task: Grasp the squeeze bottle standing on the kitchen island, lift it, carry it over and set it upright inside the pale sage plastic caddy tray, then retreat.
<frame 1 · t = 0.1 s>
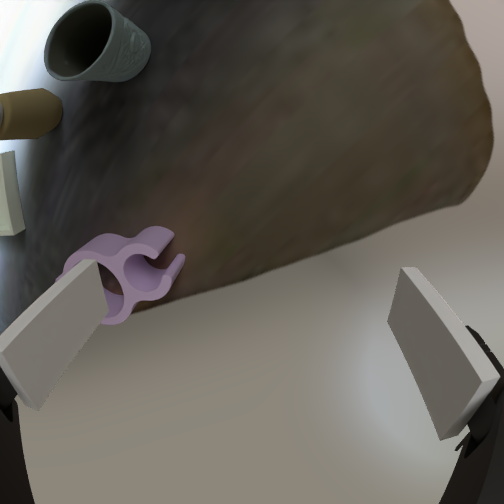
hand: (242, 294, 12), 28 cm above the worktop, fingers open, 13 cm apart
clip: (127, 263, 44), on the worktop
squeeze bottle: (51, 112, 34), on the worktop
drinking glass: (123, 56, 31), on the worktop
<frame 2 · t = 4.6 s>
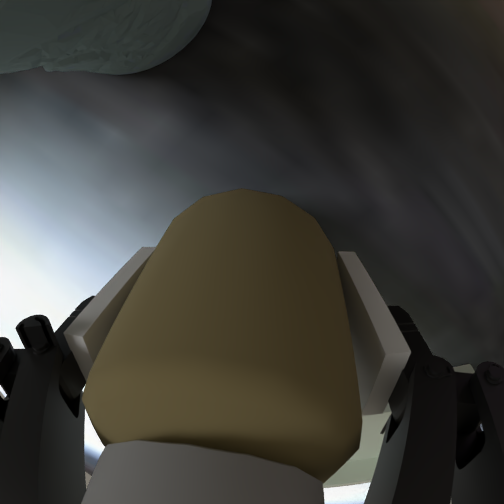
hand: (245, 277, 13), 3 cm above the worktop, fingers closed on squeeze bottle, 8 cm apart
squeeze bottle: (250, 247, 16), on the worktop, touching gripper
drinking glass: (142, 13, 11), on the worktop
caddy tray: (376, 426, 23), on the worktop
when the fingers open (6 cm above the worktop, at t = 12.3 s): squeeze bottle drops 2 cm, resting on caddy tray.
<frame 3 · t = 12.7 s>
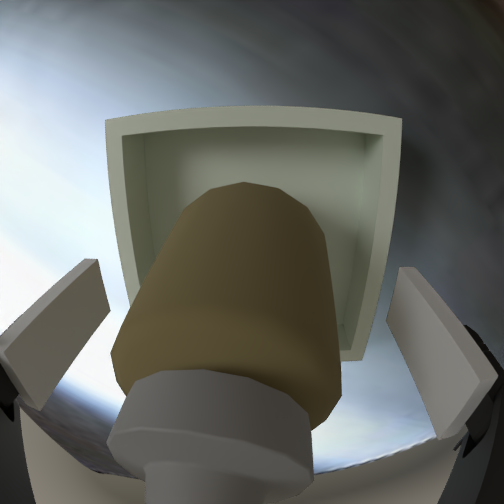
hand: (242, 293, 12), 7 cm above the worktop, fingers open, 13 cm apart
squeeze bottle: (251, 235, 18), resting on caddy tray
caddy tray: (253, 233, 19), on the worktop
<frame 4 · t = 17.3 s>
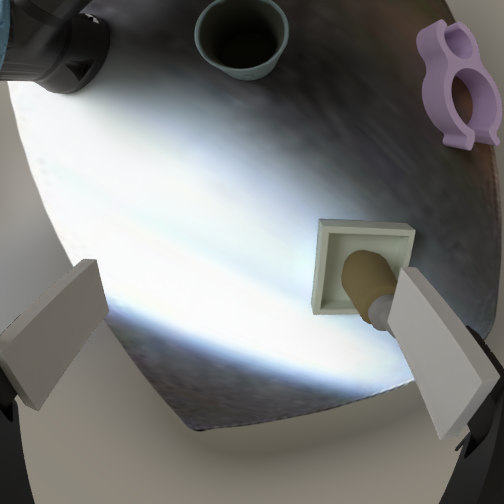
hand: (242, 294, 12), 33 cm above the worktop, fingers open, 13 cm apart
clip: (447, 85, 34), on the worktop
squeeze bottle: (359, 265, 46), resting on caddy tray
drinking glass: (249, 55, 35), on the worktop
caddy tray: (359, 264, 46), on the worktop
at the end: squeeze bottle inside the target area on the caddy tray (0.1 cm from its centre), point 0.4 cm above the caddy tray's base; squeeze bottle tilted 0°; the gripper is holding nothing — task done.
